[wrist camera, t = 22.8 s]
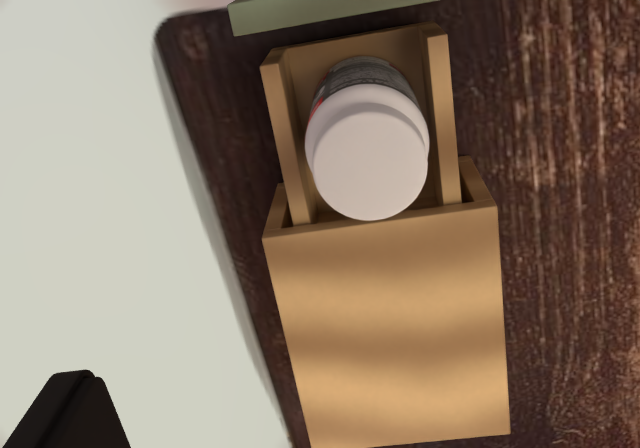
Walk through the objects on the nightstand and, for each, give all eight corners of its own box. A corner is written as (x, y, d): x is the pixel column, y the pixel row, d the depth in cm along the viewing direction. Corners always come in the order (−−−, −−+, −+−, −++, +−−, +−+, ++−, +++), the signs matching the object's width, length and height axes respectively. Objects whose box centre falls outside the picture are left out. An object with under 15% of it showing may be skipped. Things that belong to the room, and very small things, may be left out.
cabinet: (277, 182, 33) (261, 238, 27) (469, 154, 32) (497, 205, 26) (318, 371, 38) (312, 453, 32) (484, 353, 37) (510, 434, 31)
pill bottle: (304, 63, 28) (287, 111, 20) (408, 46, 27) (431, 89, 20) (321, 161, 30) (312, 238, 22) (419, 147, 29) (443, 221, 22)
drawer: (219, -132, 26) (192, -145, 21) (432, -176, 25) (450, -200, 20) (294, 221, 33) (285, 265, 28) (463, 197, 32) (481, 239, 27)
